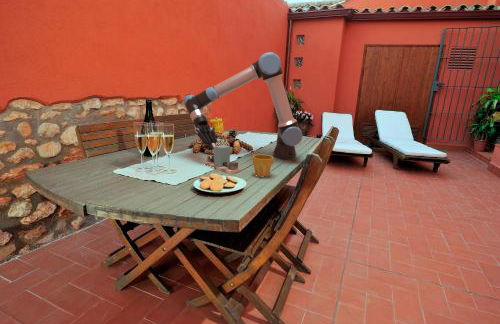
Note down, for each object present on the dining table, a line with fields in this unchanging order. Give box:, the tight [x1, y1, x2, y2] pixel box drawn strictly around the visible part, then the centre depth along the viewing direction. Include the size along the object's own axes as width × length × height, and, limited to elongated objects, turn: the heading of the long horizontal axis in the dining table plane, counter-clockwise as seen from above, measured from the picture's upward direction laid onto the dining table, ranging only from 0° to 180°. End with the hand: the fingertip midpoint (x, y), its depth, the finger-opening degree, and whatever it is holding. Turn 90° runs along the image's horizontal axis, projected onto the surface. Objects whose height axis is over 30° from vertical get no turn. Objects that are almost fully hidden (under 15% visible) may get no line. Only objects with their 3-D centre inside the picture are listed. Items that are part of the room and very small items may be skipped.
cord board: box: [202, 154, 242, 175], centre depth 151 cm, size 22×8×5 cm, turn 46°
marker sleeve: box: [213, 144, 231, 166], centre depth 150 cm, size 5×7×10 cm
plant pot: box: [252, 153, 274, 177], centre depth 141 cm, size 10×10×10 cm
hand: (217, 154), depth 152 cm, fingers closed
